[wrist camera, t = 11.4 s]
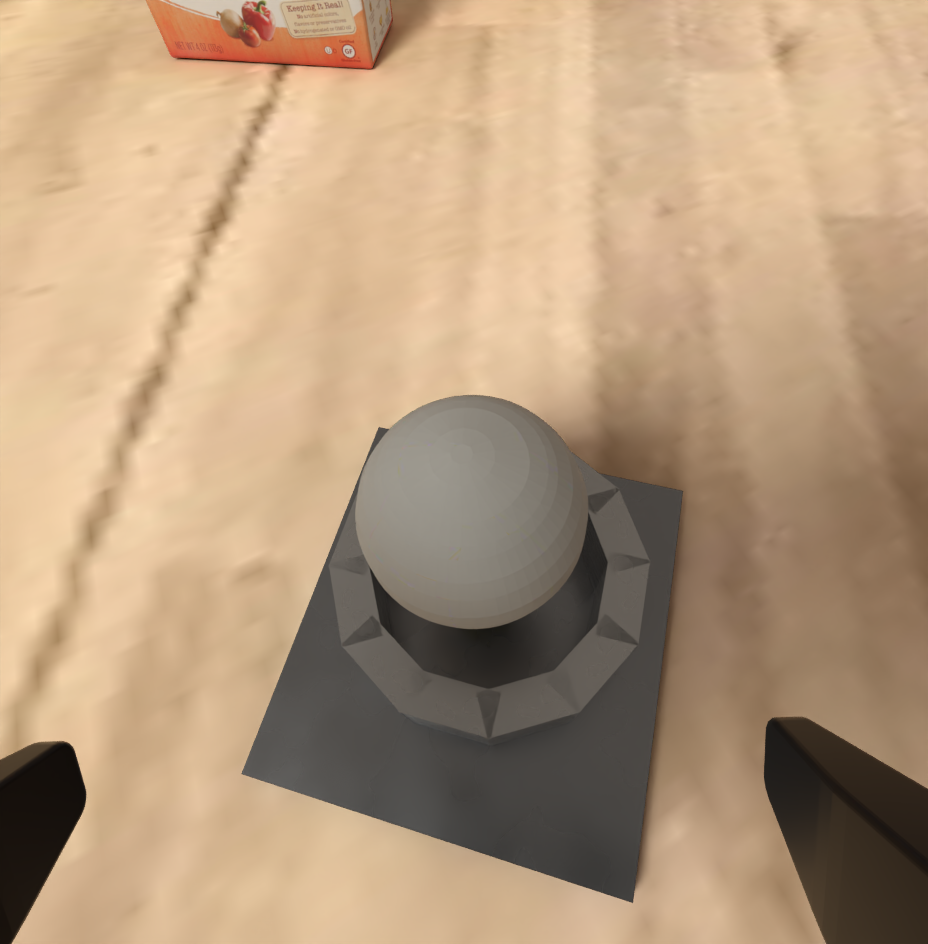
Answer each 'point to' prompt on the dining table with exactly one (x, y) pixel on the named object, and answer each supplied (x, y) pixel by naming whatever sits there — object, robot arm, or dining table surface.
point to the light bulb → (471, 512)
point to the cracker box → (275, 30)
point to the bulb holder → (490, 701)
